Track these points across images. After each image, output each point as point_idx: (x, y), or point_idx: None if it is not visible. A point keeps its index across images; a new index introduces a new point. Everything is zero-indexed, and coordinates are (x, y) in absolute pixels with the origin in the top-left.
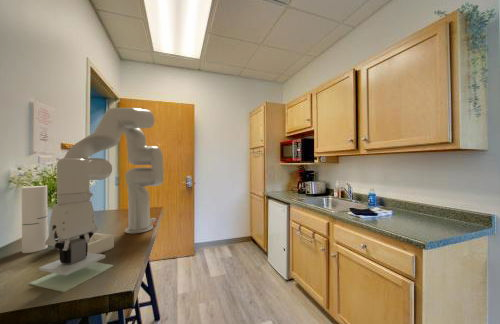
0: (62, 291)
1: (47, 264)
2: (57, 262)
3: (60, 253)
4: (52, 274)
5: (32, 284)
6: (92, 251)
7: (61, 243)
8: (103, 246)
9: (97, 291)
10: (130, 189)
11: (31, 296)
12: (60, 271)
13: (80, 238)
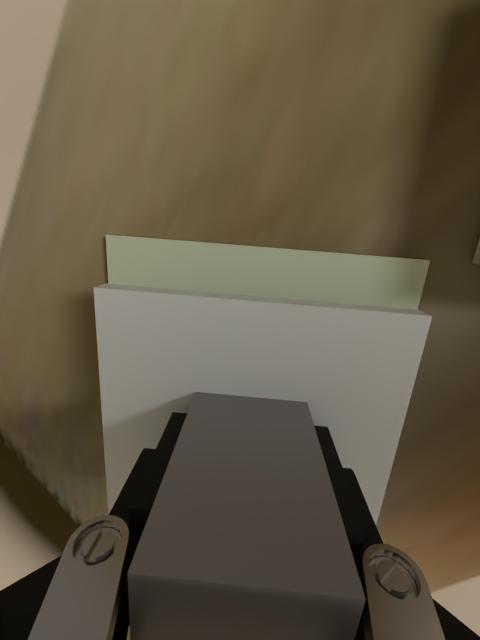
0: None
1: (148, 297)
2: (194, 345)
3: (117, 509)
4: (213, 266)
5: (110, 263)
6: None
7: (77, 630)
8: None
9: None
10: None
11: (54, 377)
12: (108, 492)
13: (369, 636)
